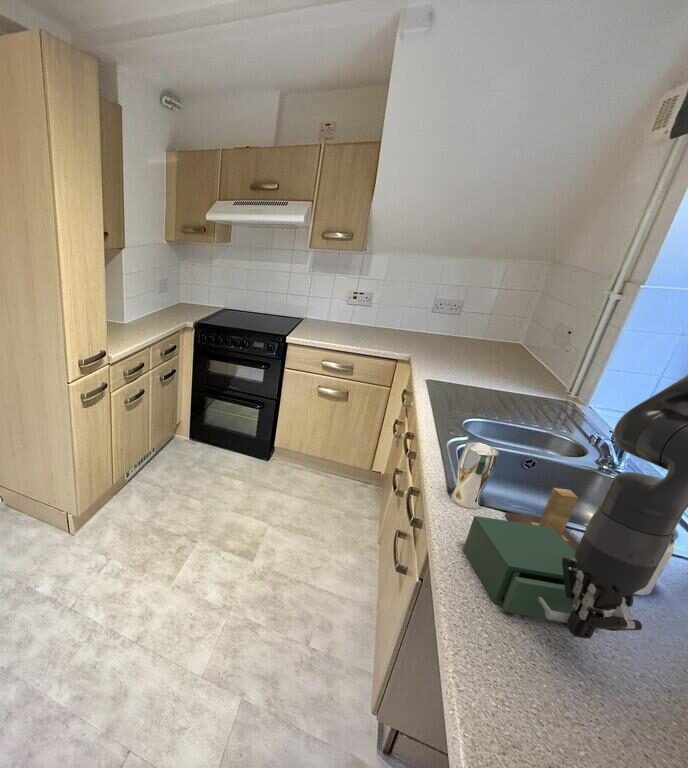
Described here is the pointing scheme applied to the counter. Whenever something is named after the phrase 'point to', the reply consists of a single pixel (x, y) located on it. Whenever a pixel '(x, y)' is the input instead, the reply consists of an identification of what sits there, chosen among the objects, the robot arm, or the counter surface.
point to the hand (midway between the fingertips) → (576, 633)
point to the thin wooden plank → (534, 519)
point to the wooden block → (558, 510)
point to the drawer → (537, 597)
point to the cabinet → (513, 552)
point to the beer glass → (474, 473)
